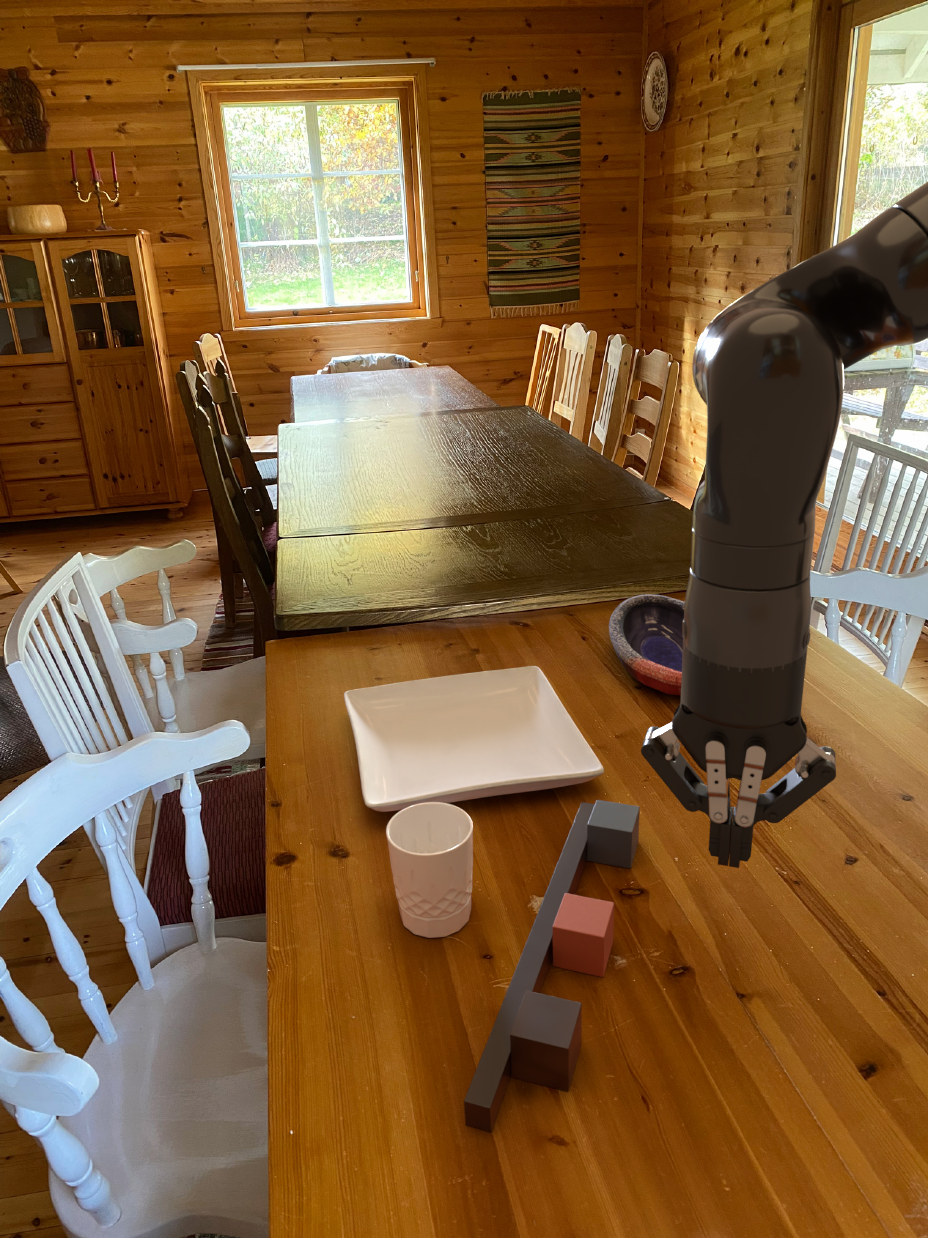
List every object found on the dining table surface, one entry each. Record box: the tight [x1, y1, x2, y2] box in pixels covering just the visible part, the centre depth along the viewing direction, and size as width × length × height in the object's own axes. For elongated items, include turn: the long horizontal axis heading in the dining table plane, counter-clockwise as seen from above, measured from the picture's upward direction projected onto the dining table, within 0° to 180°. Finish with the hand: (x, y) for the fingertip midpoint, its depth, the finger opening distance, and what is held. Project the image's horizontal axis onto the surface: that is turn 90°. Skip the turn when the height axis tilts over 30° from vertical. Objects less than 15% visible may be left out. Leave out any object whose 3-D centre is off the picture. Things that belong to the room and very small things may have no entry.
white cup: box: [385, 802, 474, 939], centre depth 85 cm, size 8×8×10 cm
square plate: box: [343, 665, 605, 813], centre depth 112 cm, size 27×27×4 cm
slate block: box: [586, 799, 641, 870], centre depth 93 cm, size 4×4×4 cm
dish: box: [608, 594, 685, 696], centre depth 132 cm, size 16×31×5 cm, turn 179°
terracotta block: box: [552, 893, 615, 978], centre depth 81 cm, size 4×4×4 cm
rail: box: [463, 801, 595, 1133], centre depth 82 cm, size 2×38×2 cm, turn 160°
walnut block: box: [510, 990, 583, 1093], centre depth 71 cm, size 4×4×4 cm
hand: (729, 859), depth 64 cm, fingers closed
